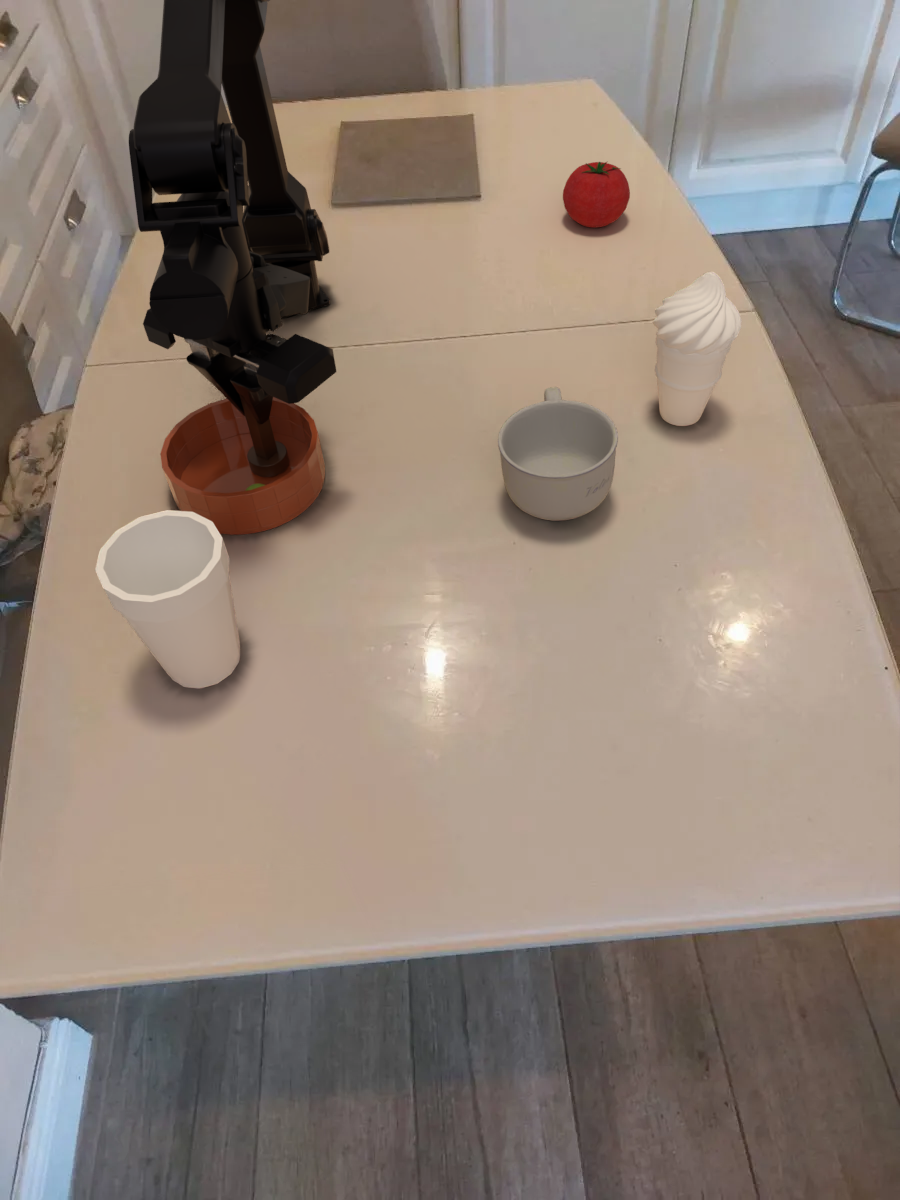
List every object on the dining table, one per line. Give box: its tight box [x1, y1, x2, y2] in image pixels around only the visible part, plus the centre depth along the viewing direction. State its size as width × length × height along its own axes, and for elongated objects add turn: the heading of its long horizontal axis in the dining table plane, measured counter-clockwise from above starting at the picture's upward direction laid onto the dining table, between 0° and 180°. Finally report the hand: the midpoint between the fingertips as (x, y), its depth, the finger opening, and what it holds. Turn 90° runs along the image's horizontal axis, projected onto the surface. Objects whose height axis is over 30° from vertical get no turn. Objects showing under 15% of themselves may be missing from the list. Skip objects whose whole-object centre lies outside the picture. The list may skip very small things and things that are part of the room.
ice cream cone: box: [652, 271, 742, 427], centre depth 90 cm, size 8×8×16 cm
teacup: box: [497, 386, 619, 522], centre depth 87 cm, size 14×11×8 cm
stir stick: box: [239, 395, 289, 477], centre depth 89 cm, size 4×4×10 cm
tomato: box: [562, 161, 631, 228], centre depth 120 cm, size 9×9×8 cm
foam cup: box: [94, 509, 241, 689], centre depth 73 cm, size 10×9×13 cm
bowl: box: [159, 397, 326, 536], centre depth 90 cm, size 15×15×5 cm
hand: (257, 417), depth 88 cm, fingers closed on stir stick, 2 cm apart
